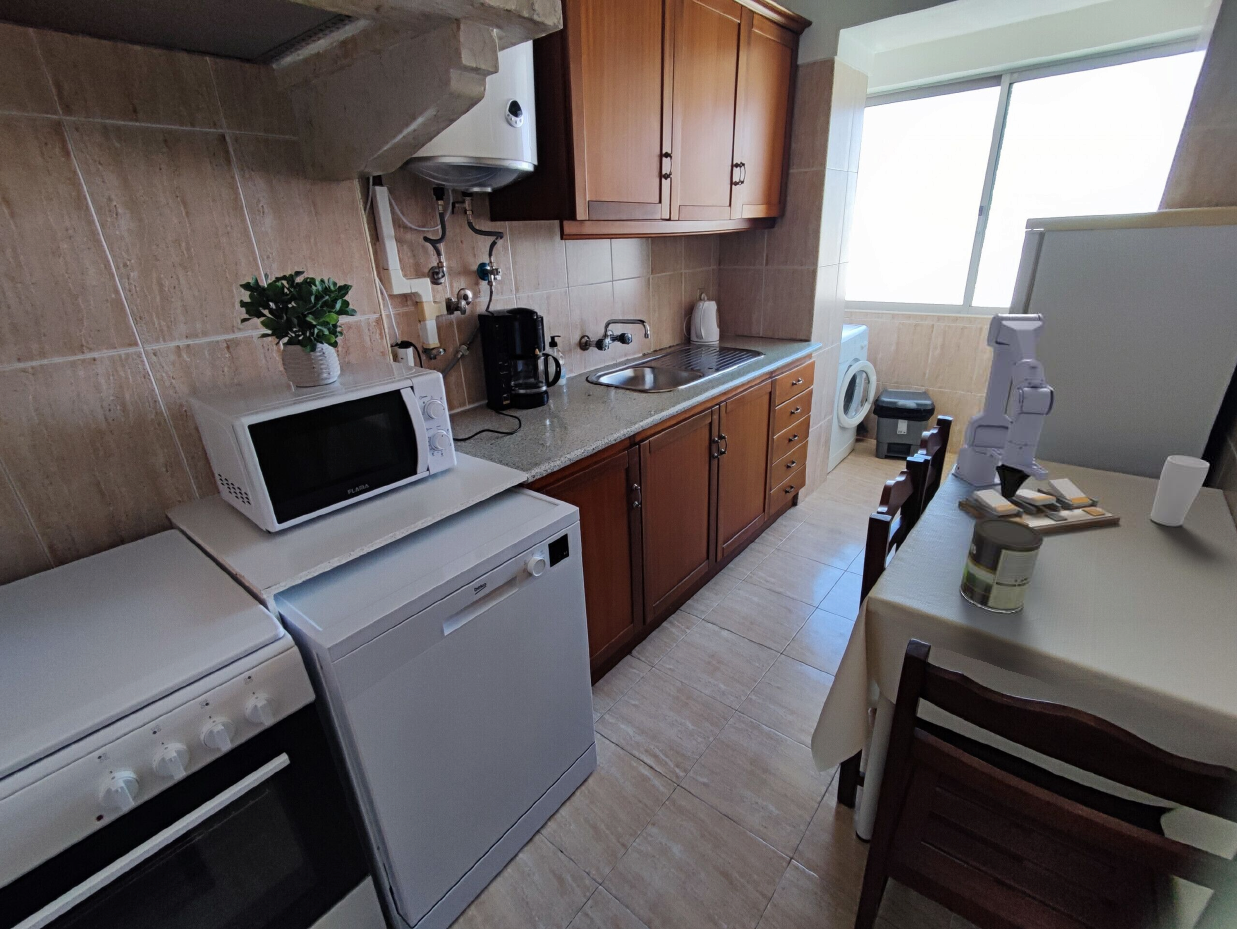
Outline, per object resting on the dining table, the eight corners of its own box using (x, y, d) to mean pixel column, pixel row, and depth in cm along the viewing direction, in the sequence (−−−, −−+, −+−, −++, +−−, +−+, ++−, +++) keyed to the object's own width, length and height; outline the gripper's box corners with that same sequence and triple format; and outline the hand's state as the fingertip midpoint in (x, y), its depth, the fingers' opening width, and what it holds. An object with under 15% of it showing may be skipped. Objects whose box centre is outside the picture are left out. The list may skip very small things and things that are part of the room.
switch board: (957, 506, 138) (960, 494, 136) (1056, 493, 142) (1059, 482, 140) (1010, 538, 123) (1014, 526, 122) (1118, 522, 127) (1123, 510, 126)
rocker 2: (1046, 483, 137) (1049, 479, 136) (1064, 481, 138) (1067, 477, 137) (1070, 508, 131) (1074, 504, 130) (1089, 505, 132) (1092, 501, 131)
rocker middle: (1007, 496, 136) (1008, 490, 136) (1025, 493, 137) (1026, 488, 137) (1036, 505, 129) (1037, 499, 128) (1055, 502, 129) (1056, 497, 129)
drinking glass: (1150, 525, 125) (1173, 464, 120) (1141, 512, 131) (1162, 453, 125) (1190, 531, 122) (1215, 468, 117) (1179, 518, 128) (1203, 457, 122)
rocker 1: (972, 495, 134) (974, 490, 134) (990, 493, 135) (993, 488, 134) (997, 515, 128) (999, 511, 127) (1016, 513, 129) (1018, 508, 128)
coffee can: (954, 600, 104) (969, 534, 99) (964, 574, 111) (979, 512, 106) (1020, 621, 98) (1040, 552, 92) (1027, 593, 105) (1046, 527, 100)
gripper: (1067, 451, 116) (1050, 508, 121) (1010, 428, 129) (997, 481, 135) (1038, 454, 115) (1022, 512, 120) (983, 431, 128) (971, 485, 134)
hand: (1007, 496), depth 128 cm, fingers closed
